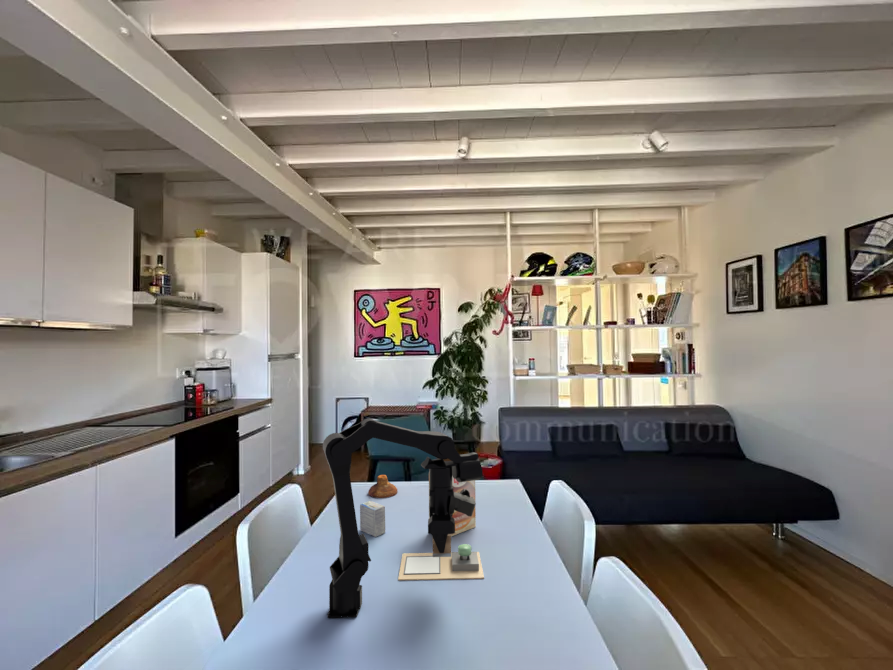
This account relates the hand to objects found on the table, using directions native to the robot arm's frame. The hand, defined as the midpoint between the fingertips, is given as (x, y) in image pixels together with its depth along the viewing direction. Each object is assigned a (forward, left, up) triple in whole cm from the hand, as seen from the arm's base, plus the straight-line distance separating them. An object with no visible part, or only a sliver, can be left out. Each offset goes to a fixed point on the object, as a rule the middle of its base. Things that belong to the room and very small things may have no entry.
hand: (441, 548), depth 107 cm
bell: (-24, +72, -10) cm, 76 cm away
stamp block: (0, 0, -1) cm, 1 cm away
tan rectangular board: (0, +11, -10) cm, 15 cm away
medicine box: (-22, +34, -10) cm, 42 cm away
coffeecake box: (+4, +34, -10) cm, 36 cm away
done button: (+6, +11, -8) cm, 15 cm away
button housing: (+6, +11, -10) cm, 16 cm away
